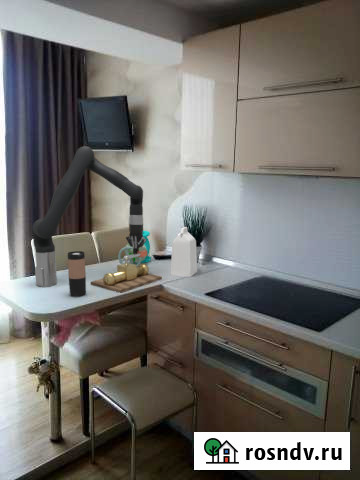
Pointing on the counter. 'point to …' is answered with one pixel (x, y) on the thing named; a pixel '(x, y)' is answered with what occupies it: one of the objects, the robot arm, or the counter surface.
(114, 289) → the mounting board
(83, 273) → the travel mug
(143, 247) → the valve
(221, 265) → the counter surface
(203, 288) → the counter surface
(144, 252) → the valve lever
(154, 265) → the counter surface
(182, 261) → the milk
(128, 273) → the brass valve
